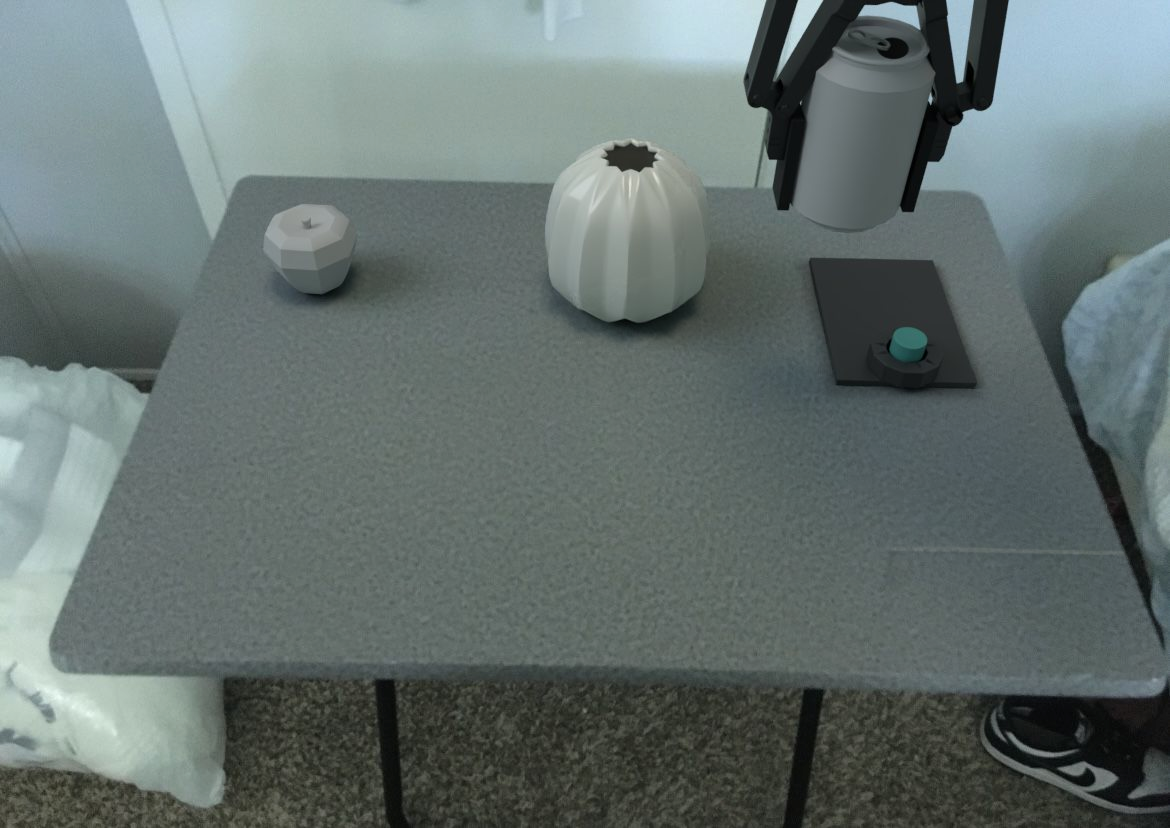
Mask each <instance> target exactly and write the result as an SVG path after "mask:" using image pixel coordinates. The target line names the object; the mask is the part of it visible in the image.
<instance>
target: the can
mask: <svg viewBox="0 0 1170 828" xmlns="http://www.w3.org/2000/svg"><path fill="white" fill-rule="evenodd" d="M832 50H833V51H832V52H831V54H830V55H829V57H828V59H827V60H826V62H825V63H824V65H823V66H822V67H821V68H820V69H818V70H817V71H816V76H815V80H814V81H813V83H812V84H811V86H810V88H809V89H808V91H807V92H806V94H805V96H804V97H803V99H802V100H801V102H800V105H801V110H802V112H803V115H804V119H805V124H804V130H803V135H802V141H801V146H800V152H799V157H798V163H797V168H796V174H795V179H794V185H793V190H792V196H791V201H790V206H791V207H792V208H794V209H795V210H796V211H797V212H798V213H799V215H800V216H801V217H802V218H803V219H804V220H805V221H806V222H808V223H810V224H812V225H813V226H815V227H817V228H820V229H823V230H826V231H830V232H833V233H844V234H853V233H863V232H866V231H868V230H873V229H874V228H876V227H878V226H879V225H882V224H886V223H888V222H889V221H890V220H891V219H892V218H894V217H895V216H896V214H897V212H898V211H899V210H900V208H901V207H900V204H901V200H902V196H903V193H904V189H905V185H906V181H907V178H908V174H909V170H910V167H911V163H912V159H913V155H914V152H915V148H916V144H917V141H918V137H919V133H920V129H921V126H922V122H923V118H924V115H925V111H926V107H927V103H928V101H929V100H930V97H931V89H932V85H933V81H934V77H935V71H934V70H933V68H932V65H931V62H930V59H929V56H928V53H929V51H930V49H929V46H928V44H927V42H926V40H925V38H924V36H923V34H922V32H921V30H920V28H918V27H916V26H914V25H913V24H910V23H909V22H906V21H902V20H900V19H896V18H891V17H886V16H880V15H858V17H857V18H856V20H855V21H853V22H851V23H850V24H849V25H848V26H847V28H846V30H845V31H844V33H843V35H842V36H841V38H840V39H839V41H838V43H837V44H836V46H835V47H834V48H832Z"/></svg>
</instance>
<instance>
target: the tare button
mask: <svg viewBox="0 0 1170 828" xmlns="http://www.w3.org/2000/svg"><path fill="white" fill-rule="evenodd" d="M926 345H927V337H926V335H925V334H924V333H923V332H921V331H920V330H918V329H915V328H911V327H903V328H899V329H897V330H896V331H895V332H894V335H893V338H892V341H891V345H890V348H889V351H890V354H891V355H892V356H893V357H894V358H895V359H897V360H900V361H902V362H905V363H916V362H918V361H920V360H921V359H922V357H923V354H924V351H925V348H926Z"/></svg>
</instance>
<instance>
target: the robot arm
mask: <svg viewBox="0 0 1170 828" xmlns="http://www.w3.org/2000/svg"><path fill="white" fill-rule="evenodd" d="M798 2H799V0H765V3H764V6H763V10H762V13H761V17H760V20H759V24H758V27H757V30H756V35H755V37H754V41H753V44H752V48H751V52H750V55H749V58H748V60H747V61H748V62H747V66H746V68H745V72H744V76H743V81H742V82H743V83H742V84H743V88H744V92H745V97H746V101H747V105H749V106H750V108H753V109H759V108H763V109H765V110H766V111H768V115H767V122H766V127H765V134H764V141H763V142H764V147H765V152H766V154H767V158H768V160H769V161H776V164H775V170H774V175H773V182H772V192H773V197H774V202H775V206H776V210H777V211H790V206H791V204H790V201H791V196H792V190H793V185H794V179H795V174H796V168H797V163H798V157H799V152H800V146H801V141H802V135H803V130H804V124H805V119H804V115H803V112H802V110H801V101H802V99H803V97H804V96H805V94H806V92H807V91H808V89H809V88H810V86H811V84H812V83H813V81H814V80H815V76H816V71H817V70H818V69H820V68H821V67H822V66H823V65H824V63H825V62H826V60H827V59H828V57H829V55H830V54H831V52H832V51H833V50H832V48H834V47H835V46H836V44H837V43H838V41H839V39H840V38H841V36H842V35H843V33H844V31H845V30H846V28H847V26H848V25H849V24H850V23H851V22H853V21H855V20H856V18H857V17H858V16H860V14H861V12H862V10H863V9H864V7H865V6H880V5H884V4H887V3H894V4H897V5H900V6H905V7H916V13H917V18H918V24H919V30H921V32H922V34H923V36H924V38H925V40H926V42H927V44H928V46H929V49H930V51H929V53H928V56H929V59H930V62H931V65H932V68H933V70H934V71H935V77H934V81H933V85H932V89H931V92H930V97H931V98H932V99H931V102H930V101H929V100H928V103H927V107H926V111H925V115H924V118H923V122H922V126H921V129H920V133H919V137H918V141H917V144H916V148H915V152H914V155H913V159H912V163H911V167H910V170H909V174H908V178H907V181H906V185H905V189H904V193H903V196H902V200H901V204H900V207H899V208H900V210H901V213H914V212H915V209H916V205H917V202H918V198H919V195H920V191H921V187H922V184H923V181H924V177H925V174H926V170H927V167H928V163H939V162H941V160H942V159H943V158H944V156H945V153H946V151H947V146H948V143H949V140H950V136H951V134H952V131H953V130H952V129H953V127H956V126H959V125H960V124H961V123H962V121H963V120H964V112H967V111H971V110H975V111H976V112H983V111H986V110H988V109H989V108H990V107H991V106H992V105H993V101H994V96H995V89H996V85H997V77H998V71H999V67H1000V66H999V65H1000V58H1001V52H1002V47H1003V40H1004V33H1005V28H1006V21H1007V15H1008V9H1009V2H1010V0H973V3H972V9H971V10H972V11H971V18H970V25H969V27H970V28H969V33H968V41H967V47H966V48H967V49H966V54H965V63H964V68H963V69H964V70H963V78H962V81H960V82H957V75H956V68H955V61H954V54H953V49H952V41H951V35H950V27H949V22H948V21H949V20H948V16H949V9H948V4H947V3H948V2H947V0H822V1H821V3H820V5H819V6H818V8H817V9H816V12H815V13H814V15H813V17H812V18H811V19H810V21H809V23H808V25H807V26H806V28H805V30H804V31H803V33H802V35H801V37H799V40H798V42H797V43H796V45H795V46H794V49H793V50H792V52H791V53H790V55H789V57H788V58H787V60H786V62H785V63H784V65H783V67H782V68H781V70H780V72H779V74H778V75H777V77H776V79H775V76H776V72H777V70H778V66H779V63H780V60H781V57H782V53H783V50H784V47H785V44H786V40H787V37H788V34H789V31H790V28H791V25H792V22H793V18H794V15H795V12H796V8H797V5H798ZM774 79H775V80H774Z"/></svg>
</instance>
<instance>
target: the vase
mask: <svg viewBox="0 0 1170 828" xmlns="http://www.w3.org/2000/svg"><path fill="white" fill-rule="evenodd" d="M572 162H573V163H571V164H570V165H568V167H566V168H565V169H564V170H562V172H560V173H559V175H558V177H557V178H556V181H555V182H554V184H553V187H552V189H551V194H550V197H549V202H548V206H547V211H546V215H545V216H546V217H545V226H544V246H545V252H546V256H547V261H548V264H547V265H548V276H549V280H550V281H549V282H550V285H551V286H552V287H553V288H554V289H555V290H556V291H557V292H558V293H559V294H560V295H561V296H562V297H563V298H565V299H566V301H568V302H569V303H570V304H571V305H572V306H574V307H575V308H576V309H577V310H579V311H584V312H586V313H588V314H590V315H591V316H593V317H595V318H597V319H598V320H601V321H603V322H606V323H612V322H617V321H621V320H625V319H626V320H628V321H631V322H634V323H637V324H643V323H646V322H649V321H652V320H654V319H656V318H659V317H662V316H664V315H666V314H671V313H672V312H673V311H675V310H676V309H678V308H679V307H681V306H682V305H684V304H685V303H686V302H687V301H688V300H690V299H691V298H693V297H694V296H695V295H697V294H698V293H699V292H700V291H701V290H702V287H703V285H704V284H703V283H704V281H705V277H706V268H707V259H708V255H709V252H710V247H711V239H712V232H711V230H712V228H711V213H710V204H709V199H708V198H709V197H708V195H707V189H706V188H705V186H704V183H703V181H702V178H701V177H700V176H699V175H698V174H697V173H696V172H695V171H693V170H692V169H691V167H689V166H688V164H687V162H686V160H685V159H684V157H682V156H680V155H679V154H677V153H675V152H674V151H672V150H671V149H669V148H667V147H665V146H663V145H662V144H661V145H660V144H658V143H655V142H653V141H650V140H641V139H638V138H636V137H626V138H623V139H620V140H618V139H611V140H608V141H605V142H601V143H599V144H596V145H594V146H592V147H590V148H588V149H586V150H585V151H583V152H580V153H579V154H578V155H577V156H576V157H575V158H574V161H572Z"/></svg>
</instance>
